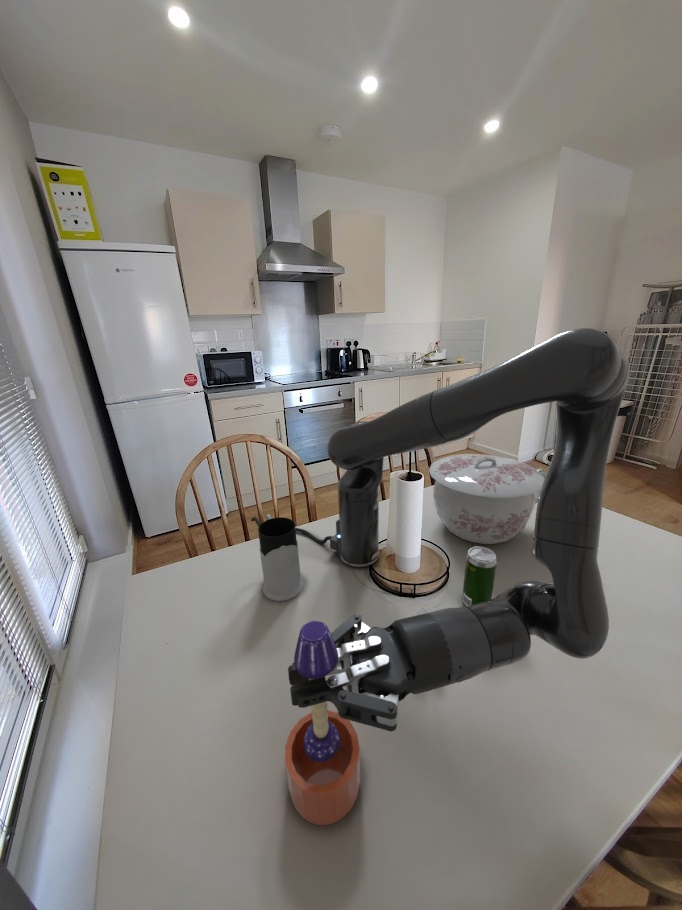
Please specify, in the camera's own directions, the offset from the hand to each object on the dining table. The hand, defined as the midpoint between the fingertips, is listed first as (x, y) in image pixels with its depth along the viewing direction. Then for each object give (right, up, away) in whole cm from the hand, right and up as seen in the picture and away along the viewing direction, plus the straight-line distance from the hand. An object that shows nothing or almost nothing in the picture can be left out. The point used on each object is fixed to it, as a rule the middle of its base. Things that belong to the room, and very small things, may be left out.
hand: (290, 686), depth 38 cm
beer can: (+32, -5, +33) cm, 46 cm away
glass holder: (-8, -4, +42) cm, 43 cm away
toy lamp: (+3, -9, +4) cm, 11 cm away
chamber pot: (+43, +4, +58) cm, 72 cm away
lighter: (+22, -9, +25) cm, 34 cm away
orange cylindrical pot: (+3, -16, +7) cm, 18 cm away
